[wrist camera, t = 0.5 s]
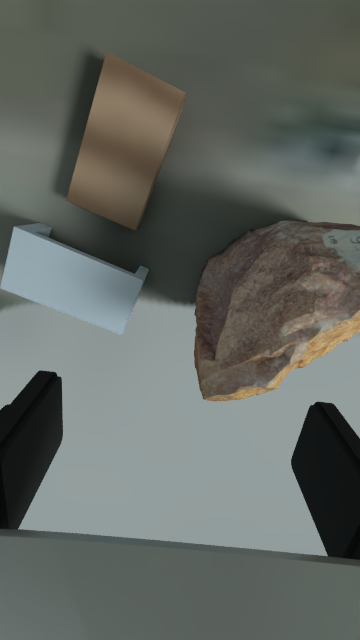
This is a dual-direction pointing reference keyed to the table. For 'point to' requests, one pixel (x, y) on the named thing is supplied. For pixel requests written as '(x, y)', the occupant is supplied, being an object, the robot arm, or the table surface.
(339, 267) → the stone
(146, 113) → the panel
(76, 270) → the bridge
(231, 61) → the table surface
